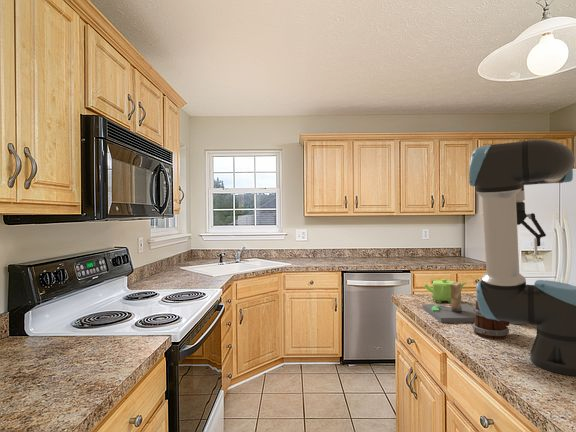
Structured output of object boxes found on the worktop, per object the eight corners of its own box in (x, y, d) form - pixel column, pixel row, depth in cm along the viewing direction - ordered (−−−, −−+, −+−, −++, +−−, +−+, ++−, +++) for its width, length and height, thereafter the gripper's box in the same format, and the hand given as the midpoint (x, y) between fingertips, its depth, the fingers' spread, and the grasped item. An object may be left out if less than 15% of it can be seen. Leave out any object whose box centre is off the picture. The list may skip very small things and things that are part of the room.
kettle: (468, 302, 170) (467, 280, 170) (446, 306, 165) (446, 283, 165) (443, 296, 184) (443, 275, 184) (423, 300, 178) (422, 278, 178)
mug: (462, 329, 131) (467, 290, 131) (495, 332, 134) (499, 293, 134) (485, 340, 119) (491, 296, 120) (520, 343, 122) (525, 300, 123)
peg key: (463, 310, 151) (462, 282, 151) (459, 313, 145) (458, 285, 145) (437, 306, 157) (436, 280, 157) (432, 310, 152) (431, 282, 152)
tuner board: (492, 322, 140) (491, 315, 140) (441, 323, 141) (440, 316, 141) (466, 307, 161) (466, 301, 161) (422, 308, 163) (422, 302, 163)
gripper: (549, 200, 138) (551, 254, 138) (478, 203, 150) (479, 252, 150) (553, 200, 132) (555, 256, 132) (478, 203, 144) (480, 254, 144)
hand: (515, 254), depth 141 cm, fingers open, 13 cm apart
